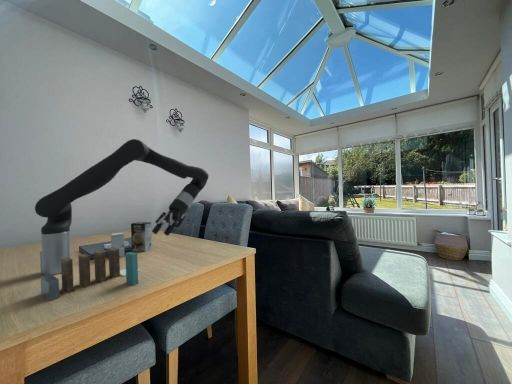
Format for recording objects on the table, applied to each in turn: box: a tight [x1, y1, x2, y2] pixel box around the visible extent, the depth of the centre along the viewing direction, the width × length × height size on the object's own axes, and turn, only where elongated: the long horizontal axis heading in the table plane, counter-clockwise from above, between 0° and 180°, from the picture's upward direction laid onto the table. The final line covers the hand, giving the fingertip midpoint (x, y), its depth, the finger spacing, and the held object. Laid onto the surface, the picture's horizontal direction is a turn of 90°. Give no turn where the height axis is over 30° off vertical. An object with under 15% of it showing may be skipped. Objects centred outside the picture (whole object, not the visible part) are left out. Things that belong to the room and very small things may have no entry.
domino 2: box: [77, 253, 92, 288], centre depth 81 cm, size 2×5×11 cm, turn 56°
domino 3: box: [93, 250, 107, 283], centre depth 85 cm, size 2×5×11 cm, turn 56°
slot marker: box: [120, 268, 142, 277], centre depth 94 cm, size 7×8×1 cm
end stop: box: [40, 274, 60, 301], centre depth 73 cm, size 2×9×6 cm, turn 56°
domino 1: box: [61, 257, 75, 294], centre depth 77 cm, size 2×5×11 cm, turn 56°
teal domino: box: [124, 251, 139, 286], centre depth 82 cm, size 2×5×11 cm, turn 56°
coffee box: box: [130, 221, 153, 252], centre depth 130 cm, size 9×6×16 cm
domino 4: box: [107, 247, 121, 279], centre depth 89 cm, size 2×5×11 cm, turn 56°
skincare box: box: [110, 232, 125, 258], centre depth 118 cm, size 6×4×12 cm
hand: (159, 233), depth 91 cm, fingers open, 8 cm apart
